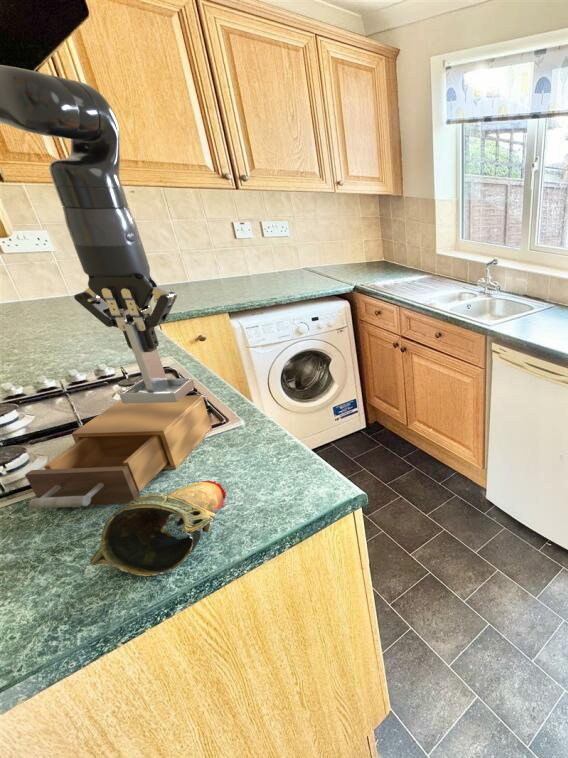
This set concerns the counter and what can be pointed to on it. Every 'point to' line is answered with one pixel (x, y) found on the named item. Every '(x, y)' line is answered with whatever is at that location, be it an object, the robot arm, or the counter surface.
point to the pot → (158, 529)
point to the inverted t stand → (152, 376)
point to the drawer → (98, 472)
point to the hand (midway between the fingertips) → (145, 350)
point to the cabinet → (155, 424)
